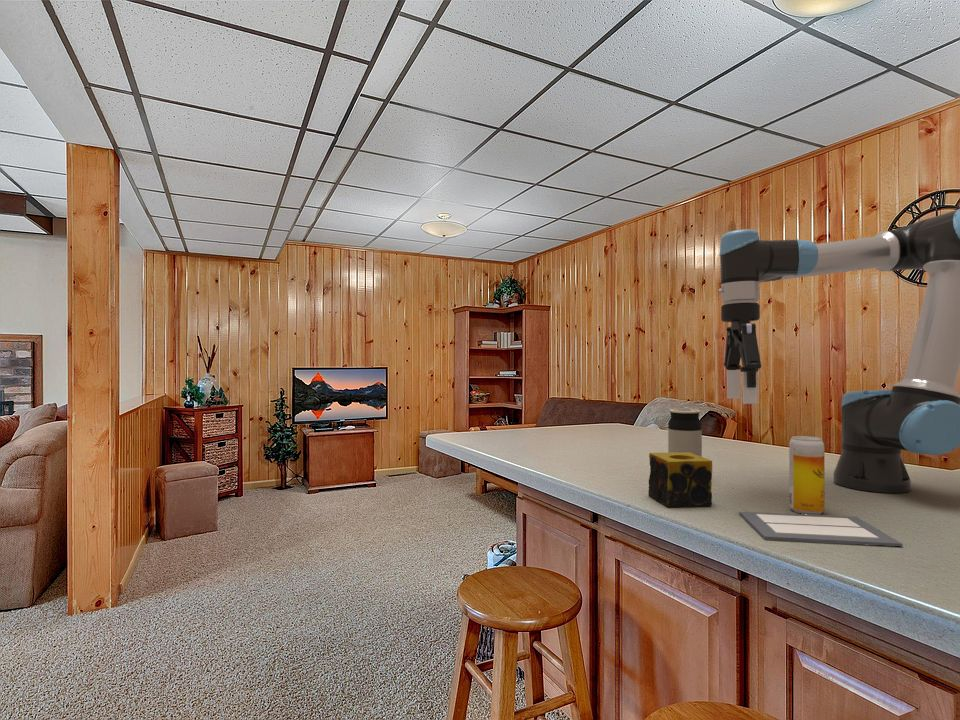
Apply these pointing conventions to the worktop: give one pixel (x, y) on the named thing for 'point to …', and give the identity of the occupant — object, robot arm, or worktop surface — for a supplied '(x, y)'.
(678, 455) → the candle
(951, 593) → the worktop surface
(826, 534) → the blotter
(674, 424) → the travel mug
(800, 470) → the beer can
